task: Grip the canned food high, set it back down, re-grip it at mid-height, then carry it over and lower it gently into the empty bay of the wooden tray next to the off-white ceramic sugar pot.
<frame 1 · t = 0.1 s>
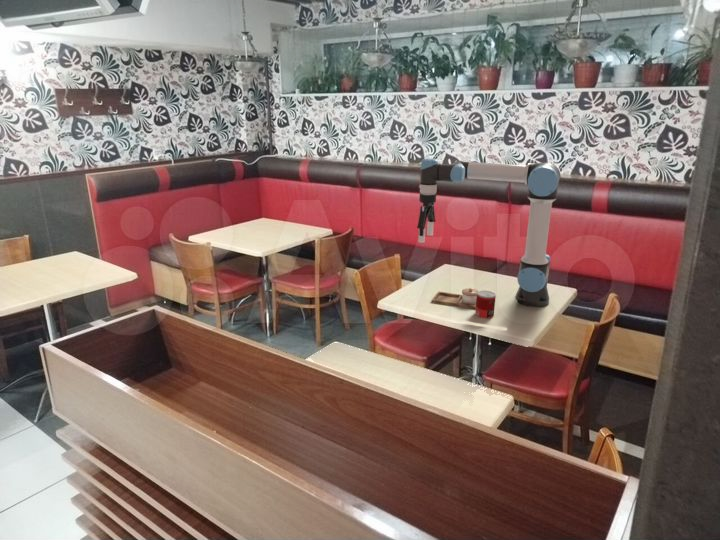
hand: (425, 238, 250), 28 cm above the table, fingers open, 13 cm apart
sugar pot: (469, 303, 246), resting on wooden tray
canned food: (484, 317, 234), on the table
wooden tray: (458, 303, 248), on the table
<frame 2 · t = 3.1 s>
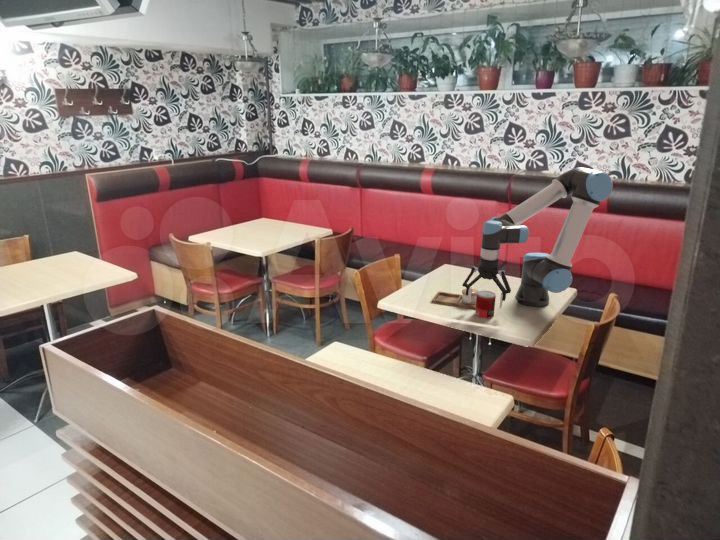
hand: (484, 304, 232), 6 cm above the table, fingers open, 13 cm apart
nothing on the table moved.
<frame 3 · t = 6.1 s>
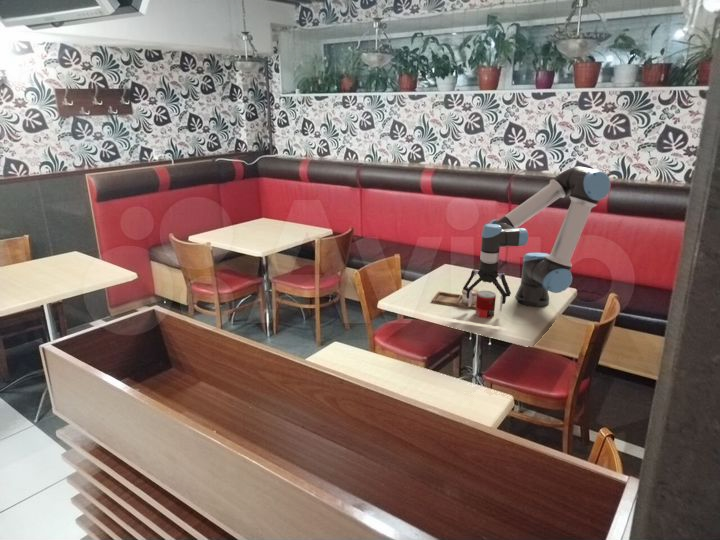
hand: (485, 307, 232), 4 cm above the table, fingers open, 13 cm apart
nothing on the table moved.
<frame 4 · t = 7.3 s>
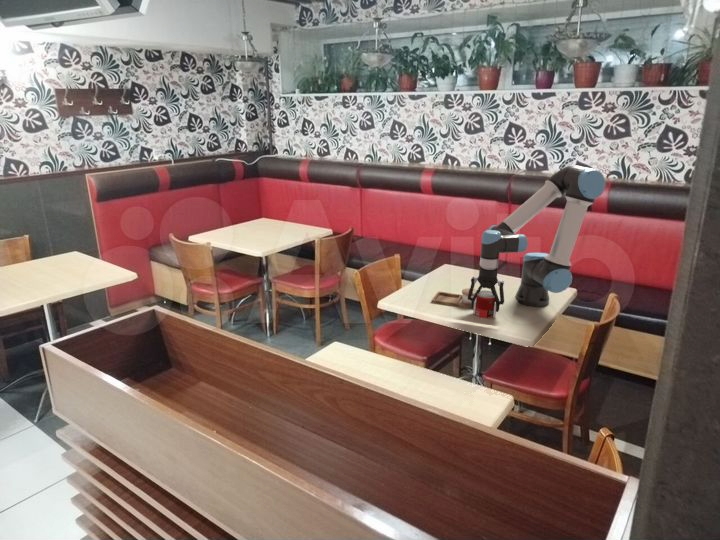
hand: (484, 316, 233), 0 cm above the table, fingers closed on canned food, 8 cm apart
canned food: (484, 317, 234), on the table, touching gripper
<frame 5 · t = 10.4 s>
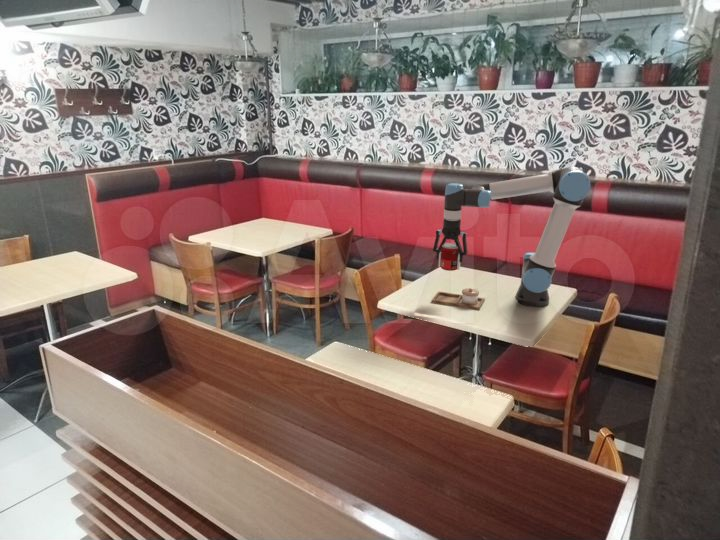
hand: (449, 267, 244), 17 cm above the table, fingers closed on canned food, 8 cm apart
canned food: (449, 268, 245), point 16 cm above the table, touching gripper
when the fingers open (3 cm above the table, at t = 13.2 s): canned food drops 2 cm, resting on wooden tray.
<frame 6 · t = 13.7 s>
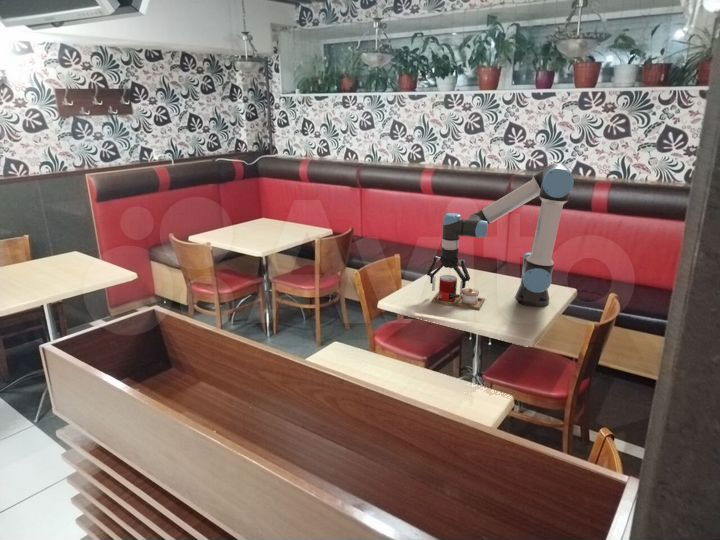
hand: (447, 292, 248), 5 cm above the table, fingers open, 12 cm apart
canned food: (447, 300, 250), point 1 cm above the table, touching wooden tray
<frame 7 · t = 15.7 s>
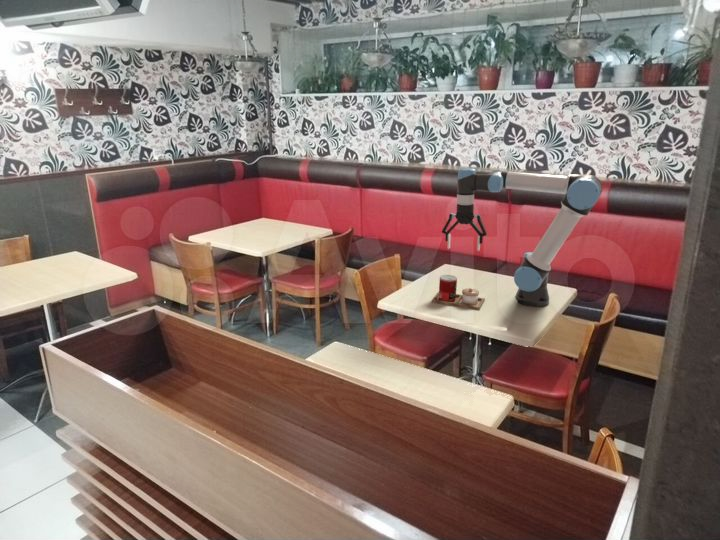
hand: (463, 249, 247), 24 cm above the table, fingers open, 13 cm apart
nothing on the table moved.
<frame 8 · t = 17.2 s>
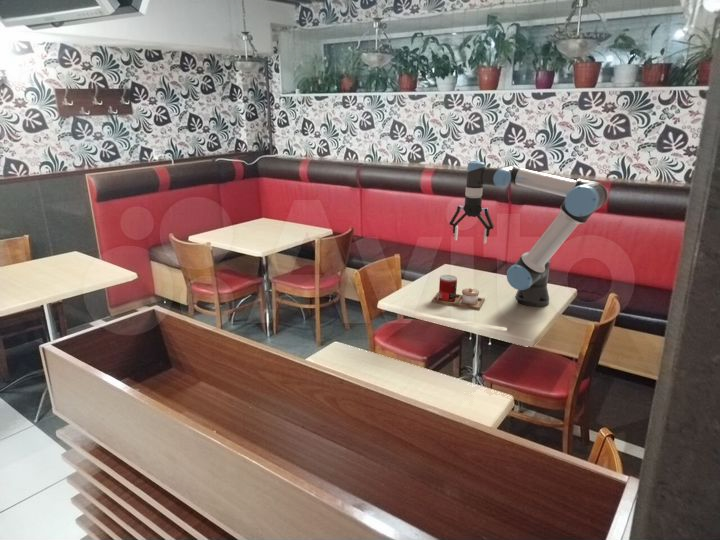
hand: (470, 241, 250), 27 cm above the table, fingers open, 13 cm apart
nothing on the table moved.
at the end: canned food inside the target area on the wooden tray (0.2 cm from its centre), point 1.0 cm above the wooden tray's base; canned food tilted 0°; the gripper is holding nothing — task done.
